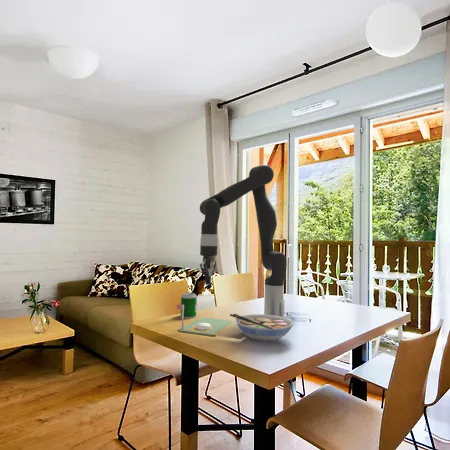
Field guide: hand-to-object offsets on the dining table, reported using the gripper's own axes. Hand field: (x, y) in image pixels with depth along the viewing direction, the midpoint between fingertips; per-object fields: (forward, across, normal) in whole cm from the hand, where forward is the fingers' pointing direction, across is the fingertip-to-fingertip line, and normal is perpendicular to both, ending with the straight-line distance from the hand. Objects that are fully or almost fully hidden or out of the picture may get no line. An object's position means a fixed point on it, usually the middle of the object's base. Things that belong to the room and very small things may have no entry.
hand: (207, 284), depth 153 cm
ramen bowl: (+19, -5, -27) cm, 33 cm away
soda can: (+19, +12, +15) cm, 27 cm away
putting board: (+19, +1, 0) cm, 19 cm away
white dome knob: (+19, -4, 0) cm, 19 cm away
